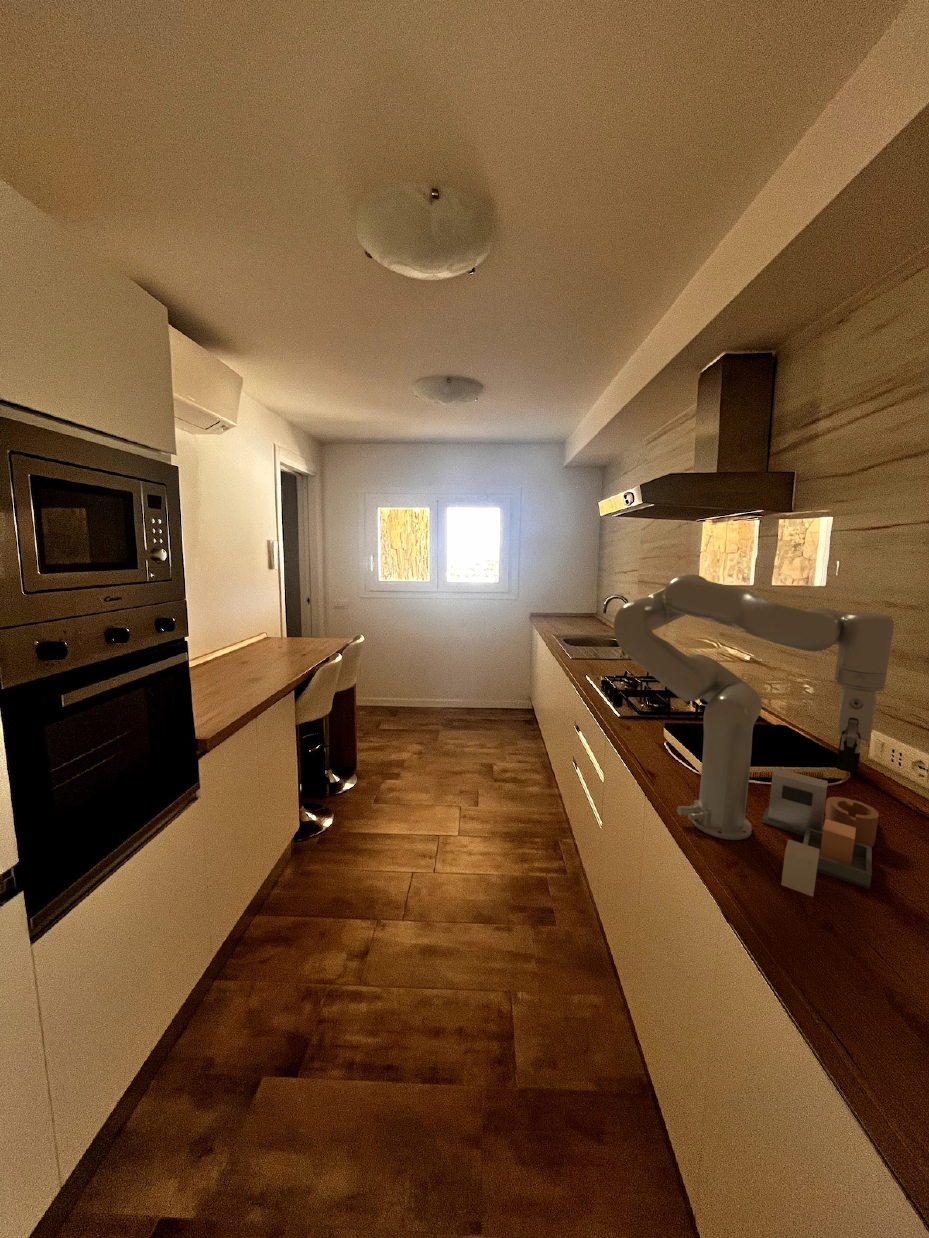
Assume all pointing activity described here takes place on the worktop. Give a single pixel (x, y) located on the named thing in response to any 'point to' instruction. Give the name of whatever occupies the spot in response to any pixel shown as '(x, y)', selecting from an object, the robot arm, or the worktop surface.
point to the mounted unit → (796, 802)
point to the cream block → (800, 867)
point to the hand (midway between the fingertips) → (847, 761)
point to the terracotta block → (837, 842)
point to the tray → (853, 874)
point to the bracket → (854, 818)
